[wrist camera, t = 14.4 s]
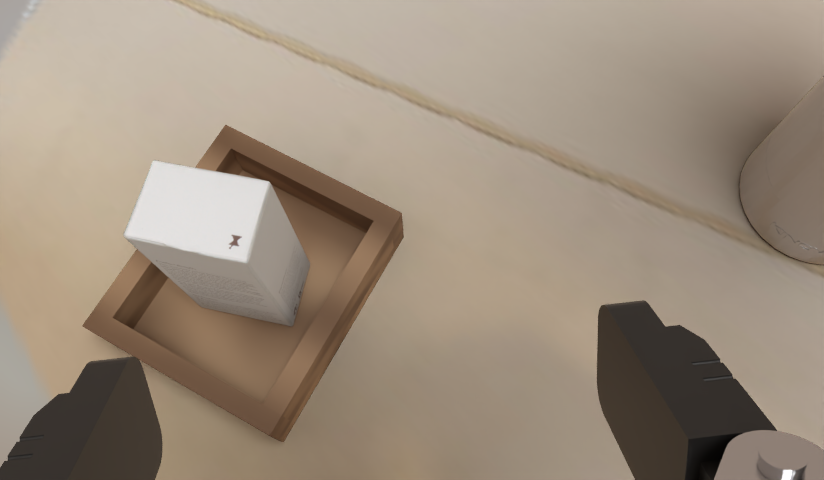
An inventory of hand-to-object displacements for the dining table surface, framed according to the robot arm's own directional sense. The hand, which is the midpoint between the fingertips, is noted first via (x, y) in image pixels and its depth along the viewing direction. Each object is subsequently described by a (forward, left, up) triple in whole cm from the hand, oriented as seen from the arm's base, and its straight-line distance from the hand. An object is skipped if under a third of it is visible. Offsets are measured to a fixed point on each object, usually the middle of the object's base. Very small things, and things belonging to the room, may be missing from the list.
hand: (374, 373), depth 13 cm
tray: (-5, -13, -31) cm, 34 cm away
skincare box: (-5, -13, -30) cm, 33 cm away
